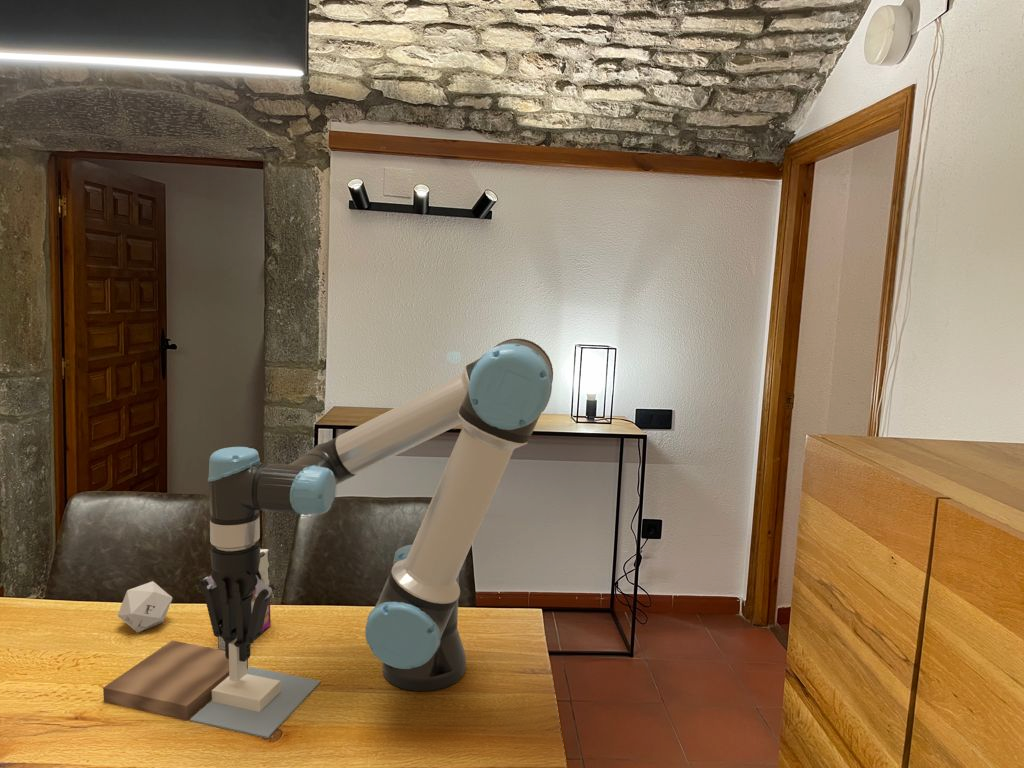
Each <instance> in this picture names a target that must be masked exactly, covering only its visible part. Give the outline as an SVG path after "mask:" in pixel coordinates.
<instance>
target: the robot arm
mask: <svg viewBox="0 0 1024 768" xmlns="http://www.w3.org/2000/svg"><path fill="white" fill-rule="evenodd" d="M553 368H554V367H553V364H552V361H551V359H550V356H549V355H548V354H547V352H546V351H545V350H544V349H543V348H542V347H541V346H540V345H539V344H537V343H535V342H534V341H531V340H528V339H525V338H511V339H510V338H509V339H506V340H504V341H501V342H500V343H498V344H496V345H495V346H494V347H493V348H491V349H489V350H488V351H486V352H485V353H484V354H483V355H482V356H481V357H479V358H477V360H474V361H473V362H471V363H469V364H467V365H464V369H463V370H462V374H460V375H457V376H456V377H453V378H452V379H450V380H448V381H446V382H443V383H442V384H440V385H437V386H436V387H434V388H432V389H430V390H428V391H426V392H423V393H421V394H419V395H418V396H415V397H414V398H412V399H409V400H408V401H406V402H403V403H402V404H400V405H398V406H396V407H394V408H392V409H390V410H388V411H386V412H384V413H382V414H380V415H378V416H376V417H374V418H372V419H370V420H368V421H365V422H364V423H362V424H360V425H358V426H356V427H354V428H352V429H349V430H348V431H346V432H344V433H342V434H340V435H338V436H337V437H335V438H332V439H331V440H328V441H325V442H321V443H319V444H317V445H315V446H314V447H312V448H311V449H310V450H309V451H308V452H306V453H305V454H303V455H301V456H300V457H298V458H297V459H295V460H294V461H292V462H291V463H290V464H277V463H274V464H273V463H266V462H261V461H260V460H261V459H260V455H259V452H258V450H257V449H255V448H252V447H251V448H250V447H247V446H231V447H224V448H220V449H218V450H216V451H213V452H212V453H211V455H210V456H209V459H208V461H209V463H208V464H209V465H208V478H207V482H208V487H209V509H210V511H209V512H210V513H209V516H210V517H209V518H210V519H209V538H210V539H209V542H210V545H211V546H210V566H211V568H212V570H211V573H210V575H208V576H206V577H204V578H203V579H201V580H199V581H198V586H199V588H200V590H201V591H202V593H203V596H204V600H205V604H206V608H207V612H208V616H209V621H210V625H211V630H212V632H213V635H214V636H215V638H218V637H219V636H220V637H222V638H223V640H224V641H225V656H226V658H227V659H229V680H231V681H236V682H238V681H239V680H240V679H241V678H242V677H243V676H245V675H246V674H247V670H248V669H247V659H248V660H249V659H250V657H251V654H252V653H251V652H252V651H251V644H253V642H254V641H255V640H257V639H258V638H259V637H261V635H262V634H263V633H262V629H263V624H264V620H265V615H266V611H267V606H268V602H269V598H270V599H271V597H272V595H273V593H274V592H275V586H274V585H273V584H269V586H267V585H266V584H265V583H264V582H262V581H261V574H260V572H259V564H260V549H261V543H260V541H259V539H260V537H261V535H260V533H261V532H260V531H261V528H260V527H261V526H260V525H261V524H260V523H261V522H260V511H263V512H276V513H289V514H290V513H291V514H300V515H305V516H308V515H323V514H325V513H328V511H329V510H330V509H331V507H332V504H333V502H334V500H335V496H336V486H337V485H339V484H341V483H343V482H344V481H347V480H349V479H351V478H353V477H355V476H356V475H358V474H360V473H362V472H365V471H366V470H368V469H371V468H373V467H375V466H376V465H379V464H381V463H383V462H385V461H387V460H389V459H391V458H393V457H396V456H398V455H399V454H402V453H403V452H406V451H407V450H410V449H412V448H414V447H416V446H419V445H420V444H422V443H424V442H427V441H429V440H431V439H433V438H435V437H437V436H439V435H441V434H443V433H444V432H447V431H449V430H451V429H453V428H455V427H458V426H460V425H461V424H462V428H461V430H460V432H459V435H458V437H457V440H456V442H455V444H454V447H453V449H452V452H451V454H450V456H449V458H448V461H447V463H446V465H445V468H444V470H443V472H442V475H441V477H440V479H439V481H438V484H437V486H436V489H435V491H434V493H433V496H432V498H431V501H430V503H429V504H428V507H427V510H426V512H425V515H424V517H423V519H422V521H421V525H420V526H419V529H418V531H417V533H416V536H415V538H414V540H413V543H412V544H409V545H408V544H407V545H404V546H401V547H399V548H398V549H397V550H396V551H395V553H394V556H393V557H394V558H393V561H392V562H393V566H392V567H391V571H390V573H388V577H387V580H386V581H385V584H384V586H383V589H382V591H381V594H380V596H379V598H378V599H377V600H378V601H377V602H376V604H375V606H374V607H373V609H372V610H371V611H370V612H369V614H368V616H367V620H366V623H365V629H364V630H365V631H364V632H365V639H366V643H367V645H368V647H369V648H370V651H371V652H372V654H373V655H374V656H375V657H376V658H377V659H378V660H380V662H382V674H383V677H384V678H385V679H386V681H388V682H389V683H390V684H392V685H393V686H395V687H397V688H400V689H403V690H408V691H414V692H430V691H437V690H441V689H444V688H445V689H446V688H447V687H450V686H452V685H454V684H455V683H457V682H458V681H459V680H461V678H463V676H464V674H465V672H466V669H467V668H466V667H467V663H466V662H467V658H466V651H465V648H464V646H463V642H462V639H461V636H460V633H459V629H458V619H459V617H458V616H459V615H458V613H459V598H460V595H461V588H460V585H459V584H460V583H459V582H460V572H461V570H462V569H463V565H464V563H465V561H466V559H467V555H468V553H469V551H470V549H471V547H472V545H473V543H474V541H475V538H476V536H477V533H478V532H479V529H480V527H481V524H482V522H483V520H484V518H485V516H486V513H487V511H488V509H489V507H490V504H491V503H492V500H493V497H494V495H495V493H496V492H497V488H498V486H499V484H500V482H501V479H502V477H503V475H504V472H505V471H506V468H507V466H508V464H509V462H510V459H511V457H512V455H513V453H514V450H516V449H517V448H520V447H523V446H526V445H527V444H528V443H529V442H530V441H529V440H530V439H531V436H532V434H533V432H534V429H535V428H536V426H537V424H538V421H539V418H540V417H541V415H542V413H543V412H544V411H545V410H546V408H547V406H548V404H549V401H550V398H551V395H552V390H553V389H552V388H553V380H554V371H553V370H554V369H553ZM255 588H256V594H255V597H257V598H256V599H255V602H254V606H253V610H252V612H251V600H252V598H253V591H254V590H255ZM261 633H262V634H261ZM250 643H251V644H250Z"/></svg>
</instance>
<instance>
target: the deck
mask: <svg viewBox="0 0 1024 768" xmlns="http://www.w3.org/2000/svg"><path fill="white" fill-rule="evenodd" d="M248 669H249V658H248V659H247V670H248ZM228 676H229V659H227V658H226V656H225V651H224V650H219V649H218V648H213V647H207V646H204V645H196V644H194V643H193V644H192V643H187V642H182V641H177V640H170V641H169V642H168V643H166V644H165V645H163V646H161V647H160V648H159V649H158V650H156V651H155V652H153V653H152V654H150V655H149V656H147V657H146V658H144V659H142V660H141V661H140V662H139V663H136V665H133V667H131V668H129V669H128V670H126V671H125V672H124V673H122V674H121V675H119V676H117V678H115V679H113V680H112V681H111V682H109V683H108V684H105V686H104V687H102V688H103V689H102V690H103V691H102V692H103V693H102V694H103V702H104V703H108V704H114V705H117V706H122V707H126V708H131V709H136V710H139V711H144V712H148V713H153V714H157V715H161V716H166V717H171V718H175V719H180V720H183V721H184V720H185V721H188V720H190V719H191V718H192V717H193V716H194V715H195V714H197V713H198V712H199V711H200V710H201V709H202V708H203V707H205V706H206V705H207V704H208V703H209V702H210V701H212V690H213V689H214V688H215V687H216V686H218V685H219V684H220V683H221V682H222V681H224V680H225V679H226V678H227V677H228Z"/></svg>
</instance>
